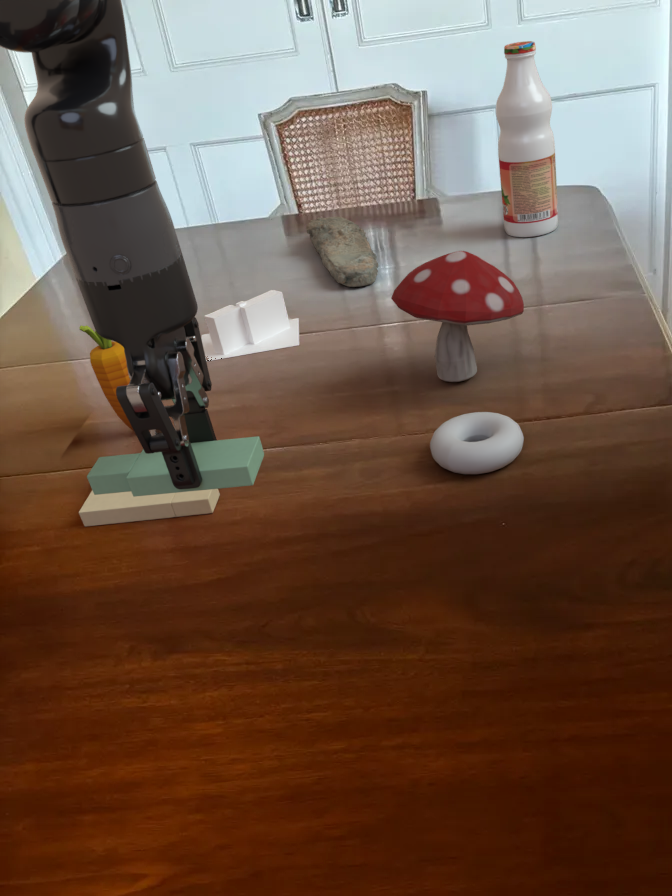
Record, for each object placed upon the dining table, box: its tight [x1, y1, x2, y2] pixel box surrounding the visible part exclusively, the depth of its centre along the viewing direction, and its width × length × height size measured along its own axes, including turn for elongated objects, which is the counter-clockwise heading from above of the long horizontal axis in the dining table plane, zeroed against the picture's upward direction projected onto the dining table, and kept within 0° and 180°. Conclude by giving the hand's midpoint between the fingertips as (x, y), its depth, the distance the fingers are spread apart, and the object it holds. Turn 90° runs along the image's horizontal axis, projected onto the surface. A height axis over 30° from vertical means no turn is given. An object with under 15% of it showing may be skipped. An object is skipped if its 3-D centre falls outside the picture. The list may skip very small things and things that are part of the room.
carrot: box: [79, 325, 134, 432], centre depth 107 cm, size 5×5×15 cm
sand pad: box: [78, 489, 221, 528], centre depth 98 cm, size 14×12×2 cm
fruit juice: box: [495, 40, 559, 238], centre depth 148 cm, size 9×9×28 cm
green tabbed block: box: [86, 435, 265, 497], centre depth 73 cm, size 14×5×2 cm, turn 89°
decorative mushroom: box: [390, 250, 525, 383], centre depth 108 cm, size 16×16×15 cm
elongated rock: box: [305, 216, 379, 288], centre depth 155 cm, size 35×5×10 cm
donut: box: [429, 411, 525, 475], centre depth 95 cm, size 10×4×10 cm
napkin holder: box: [201, 289, 300, 362], centre depth 130 cm, size 15×11×6 cm
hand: (197, 467), depth 73 cm, fingers closed on green tabbed block, 5 cm apart
